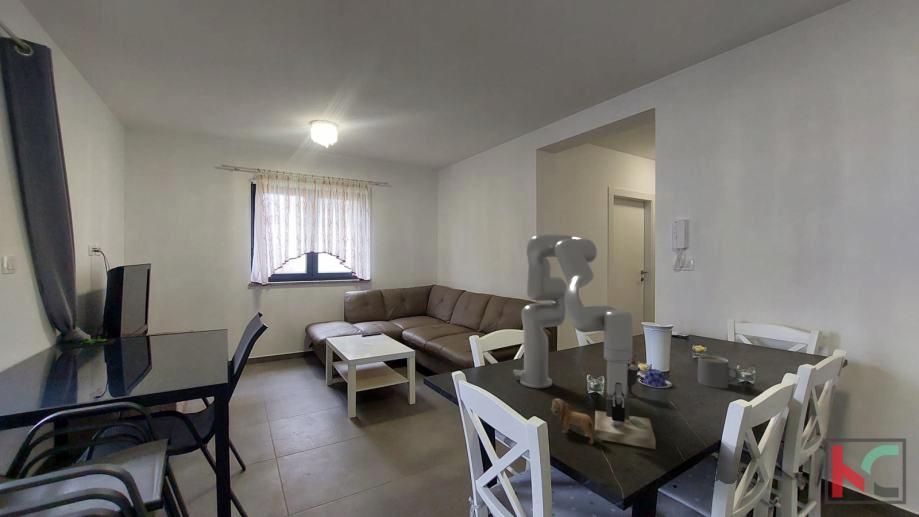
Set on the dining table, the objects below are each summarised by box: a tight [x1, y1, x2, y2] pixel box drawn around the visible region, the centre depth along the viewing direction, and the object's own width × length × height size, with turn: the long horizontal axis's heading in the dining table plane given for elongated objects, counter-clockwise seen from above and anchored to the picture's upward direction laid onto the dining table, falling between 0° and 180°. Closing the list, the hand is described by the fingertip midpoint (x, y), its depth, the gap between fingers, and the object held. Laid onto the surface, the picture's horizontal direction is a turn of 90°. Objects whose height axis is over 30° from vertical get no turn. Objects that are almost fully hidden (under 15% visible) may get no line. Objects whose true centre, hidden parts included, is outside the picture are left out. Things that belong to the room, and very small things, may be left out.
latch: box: [605, 395, 630, 426], centre depth 106 cm, size 8×6×7 cm
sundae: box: [626, 354, 641, 399], centre depth 131 cm, size 7×7×15 cm
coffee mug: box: [697, 354, 741, 389], centre depth 141 cm, size 13×10×10 cm
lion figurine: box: [550, 398, 603, 445], centre depth 102 cm, size 15×5×9 cm, turn 51°
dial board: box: [594, 410, 656, 450], centre depth 104 cm, size 15×13×3 cm
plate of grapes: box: [637, 368, 673, 389], centre depth 143 cm, size 12×12×5 cm
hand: (617, 413), depth 103 cm, fingers open, 9 cm apart
